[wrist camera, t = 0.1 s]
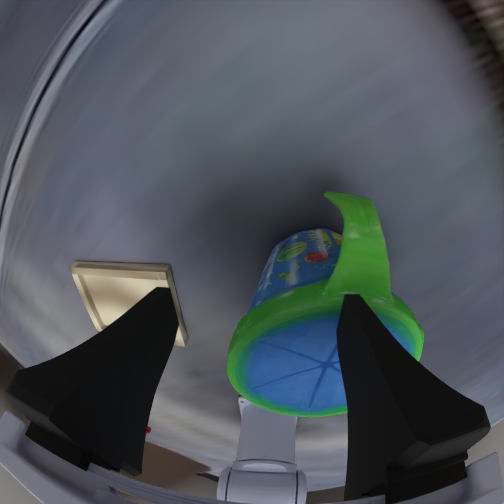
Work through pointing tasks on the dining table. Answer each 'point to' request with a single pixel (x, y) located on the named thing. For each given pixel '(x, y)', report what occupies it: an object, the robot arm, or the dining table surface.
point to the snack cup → (315, 314)
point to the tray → (122, 289)
